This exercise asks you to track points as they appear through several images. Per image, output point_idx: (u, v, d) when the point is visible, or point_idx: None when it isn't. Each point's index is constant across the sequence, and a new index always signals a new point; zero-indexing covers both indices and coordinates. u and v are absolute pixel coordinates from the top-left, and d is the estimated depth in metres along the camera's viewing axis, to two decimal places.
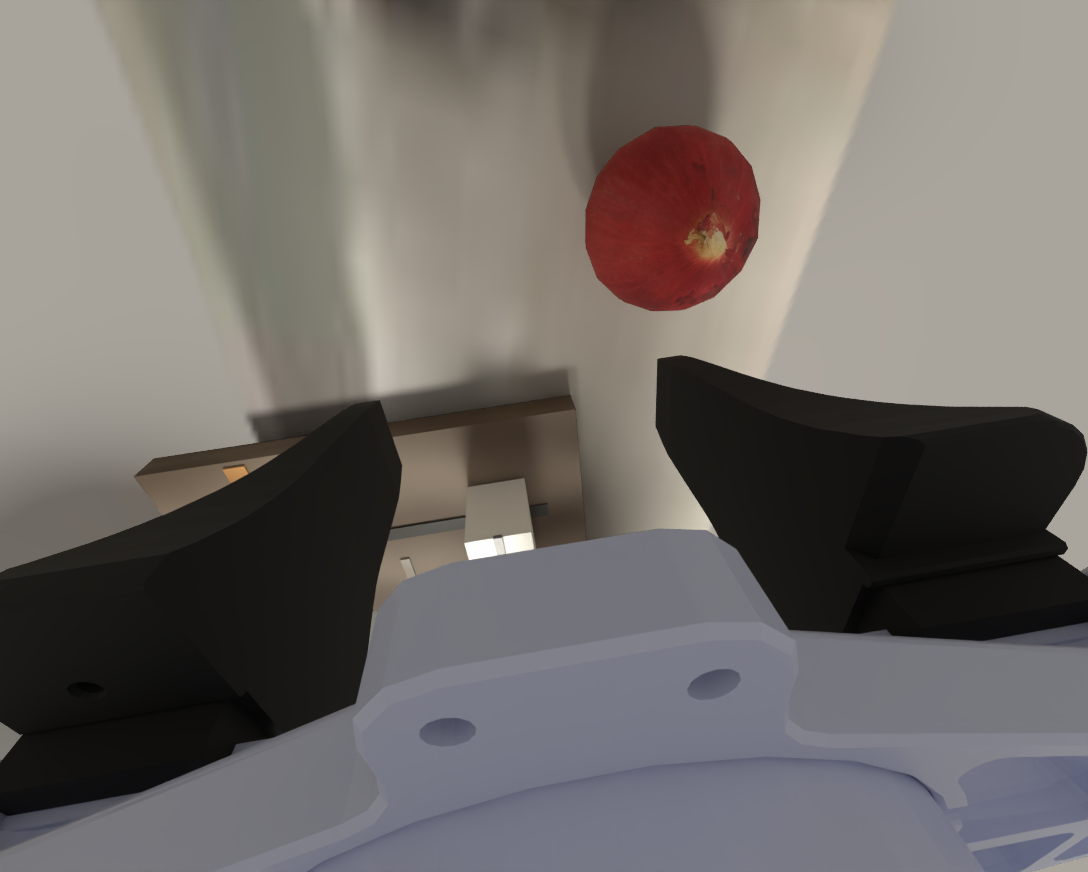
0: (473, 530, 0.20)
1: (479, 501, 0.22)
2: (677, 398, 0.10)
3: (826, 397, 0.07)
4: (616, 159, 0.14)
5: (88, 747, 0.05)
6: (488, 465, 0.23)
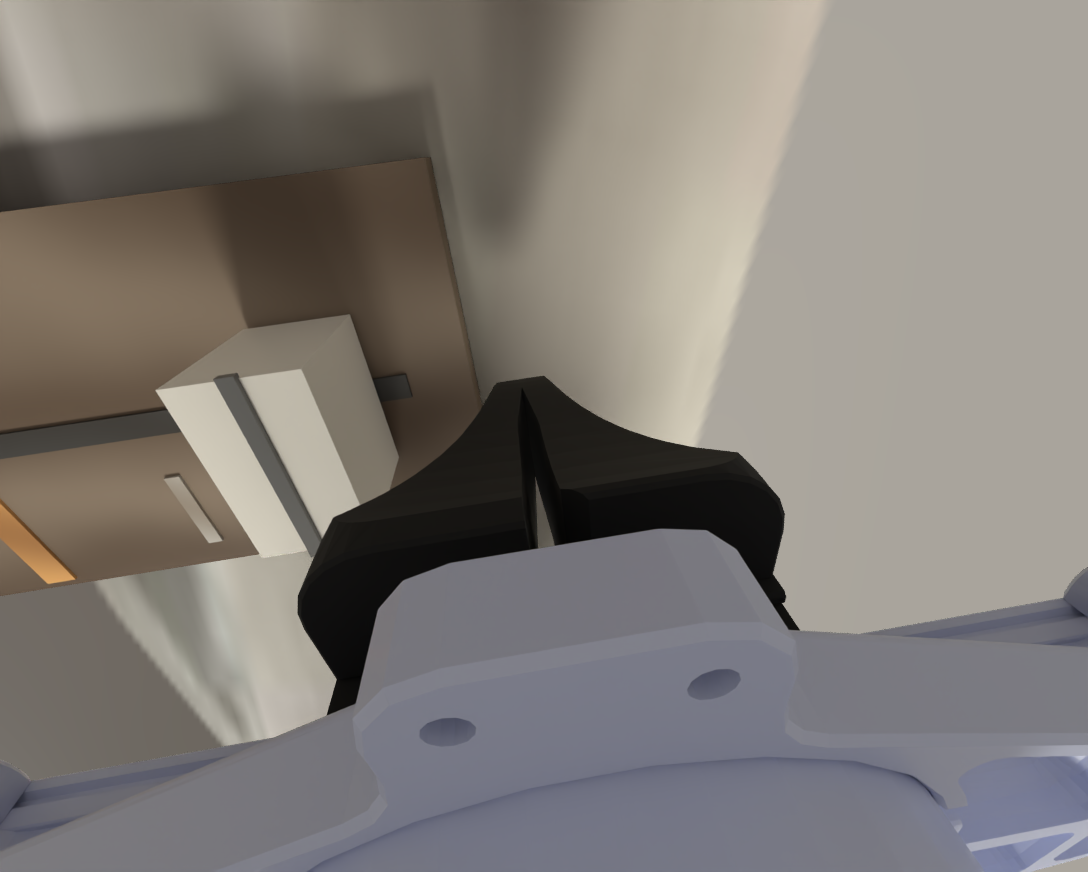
0: (193, 373, 0.10)
1: (246, 341, 0.12)
2: (528, 421, 0.10)
3: (616, 430, 0.07)
4: None
5: None
6: (277, 285, 0.12)
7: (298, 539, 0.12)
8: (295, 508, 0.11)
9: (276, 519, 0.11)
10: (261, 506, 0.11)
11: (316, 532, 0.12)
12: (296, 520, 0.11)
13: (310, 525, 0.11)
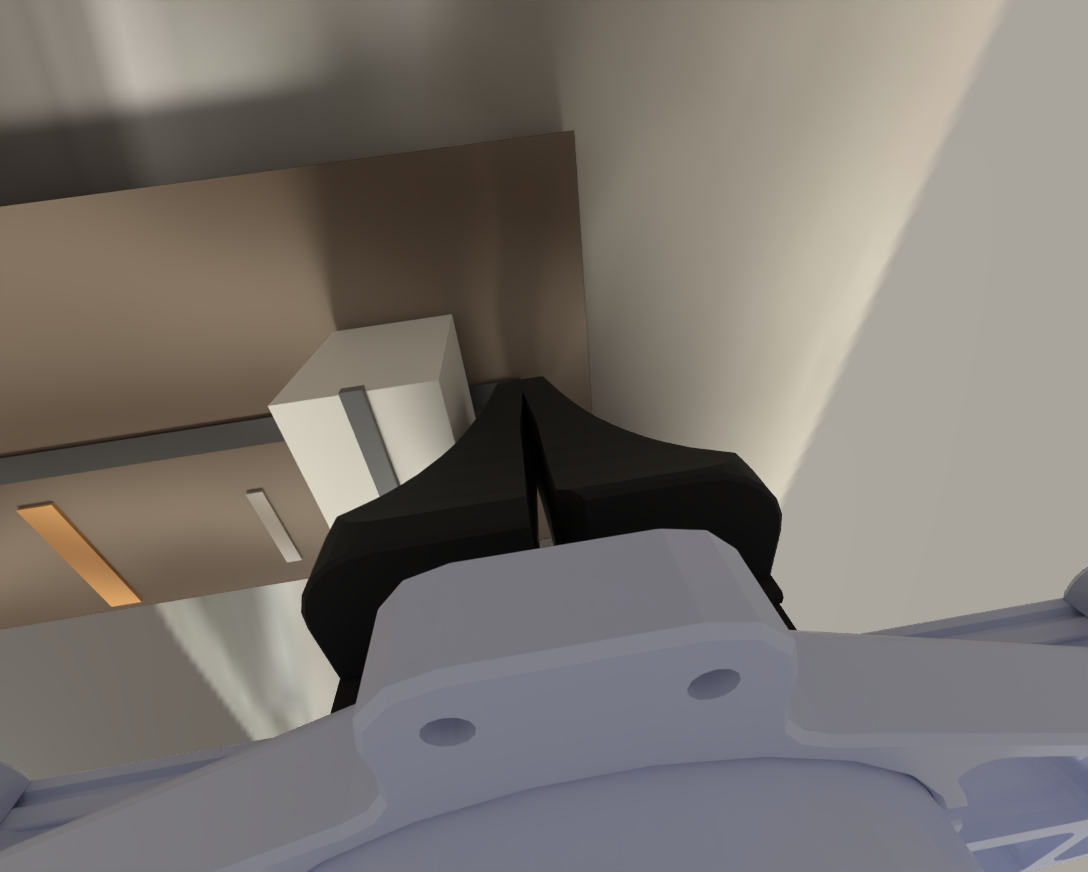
0: (304, 385, 0.08)
1: (345, 346, 0.10)
2: (527, 421, 0.10)
3: (614, 430, 0.07)
4: None
5: None
6: (392, 279, 0.11)
7: None
8: None
9: None
10: None
11: None
12: None
13: None
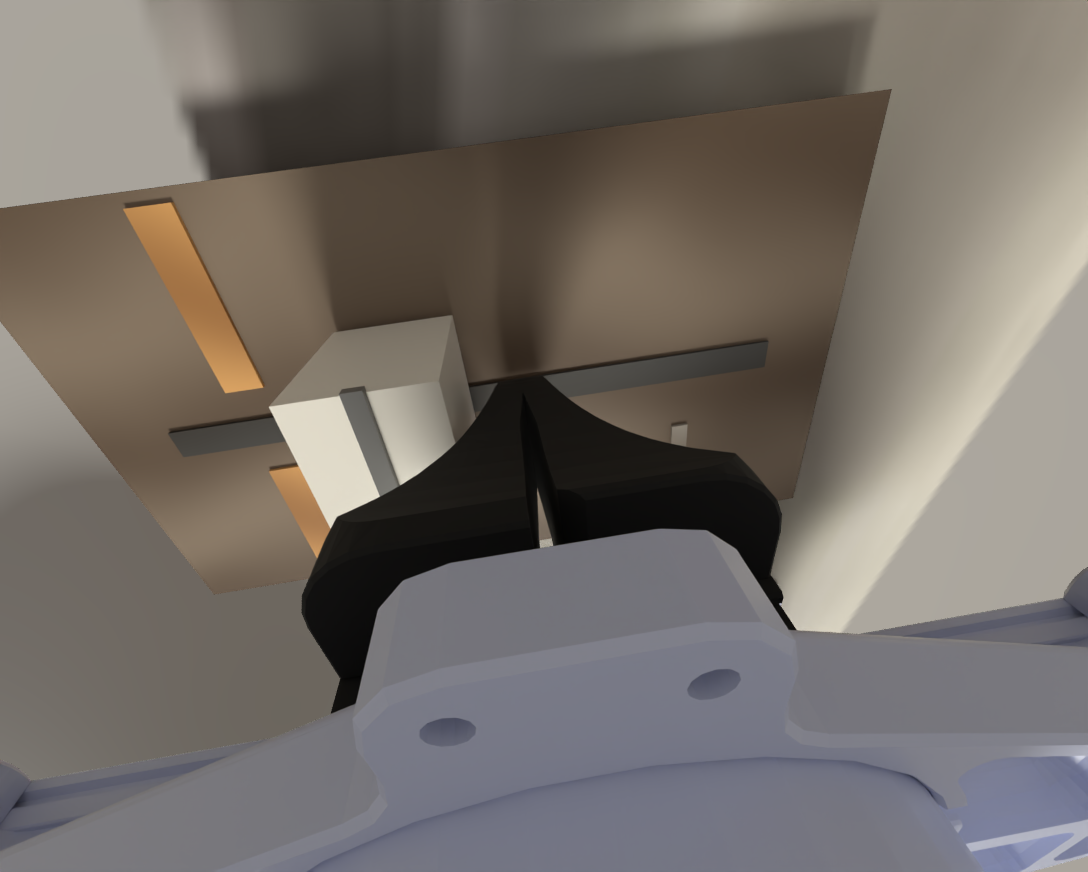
0: (304, 386, 0.08)
1: (346, 347, 0.10)
2: (527, 421, 0.10)
3: (614, 430, 0.07)
4: None
5: None
6: (681, 238, 0.11)
7: None
8: None
9: None
10: None
11: None
12: None
13: None
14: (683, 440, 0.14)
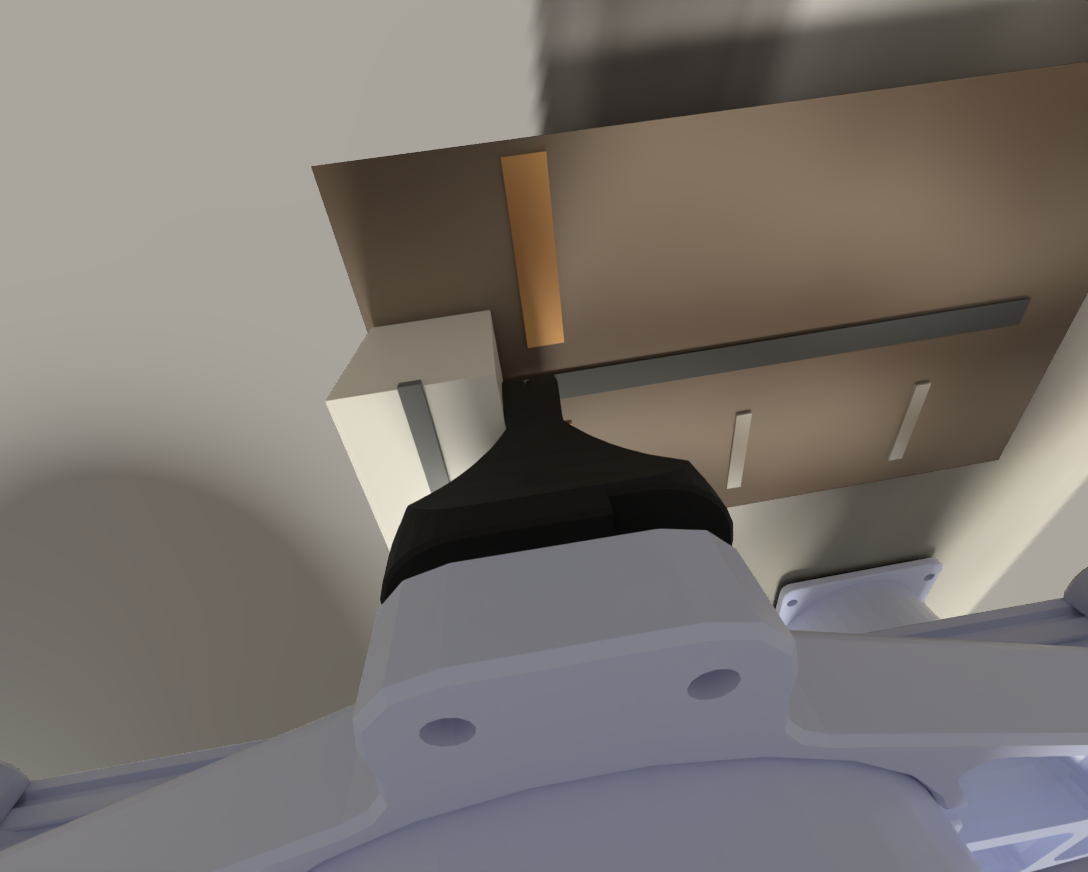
0: (357, 380, 0.08)
1: (389, 342, 0.10)
2: None
3: (579, 435, 0.07)
4: None
5: None
6: (986, 192, 0.12)
7: None
8: None
9: None
10: None
11: None
12: None
13: None
14: (922, 399, 0.15)
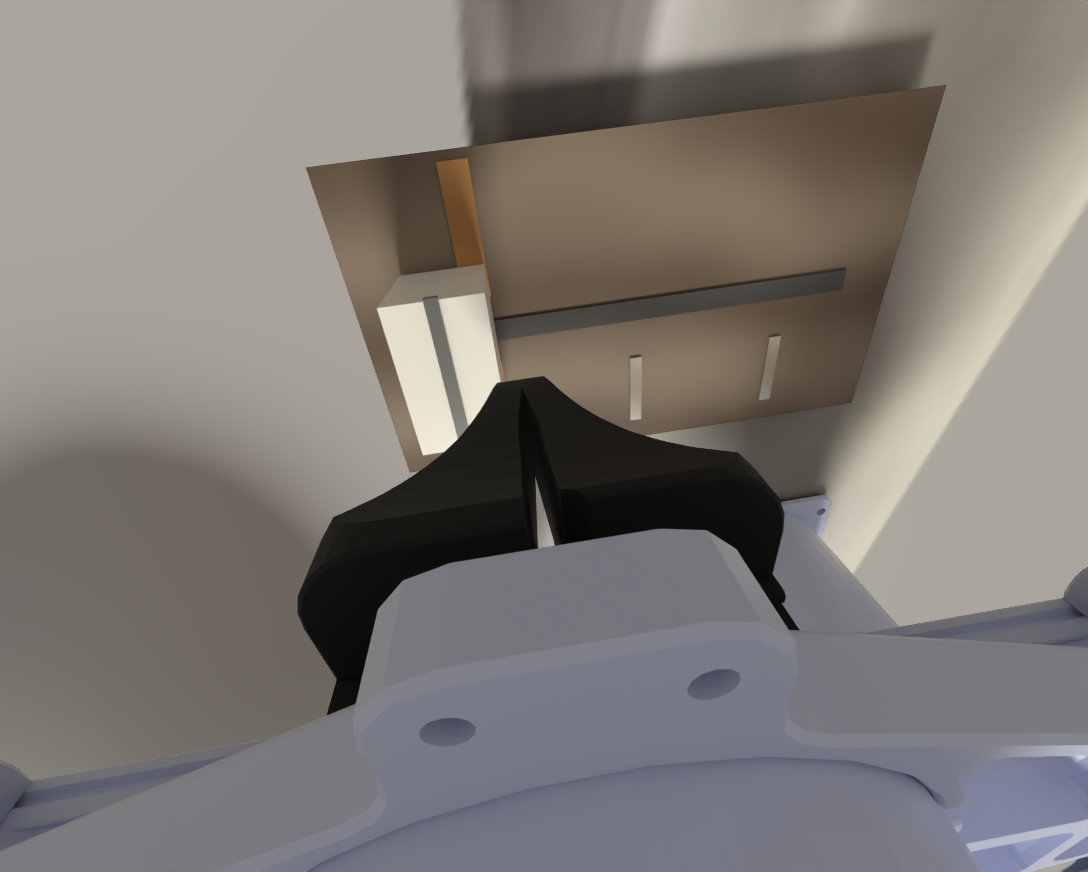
0: (395, 299, 0.13)
1: (413, 282, 0.15)
2: (528, 421, 0.10)
3: (615, 430, 0.07)
4: None
5: None
6: (794, 189, 0.16)
7: (454, 438, 0.15)
8: (458, 410, 0.14)
9: (440, 420, 0.14)
10: (431, 409, 0.14)
11: None
12: (456, 421, 0.14)
13: (466, 425, 0.14)
14: (776, 349, 0.19)
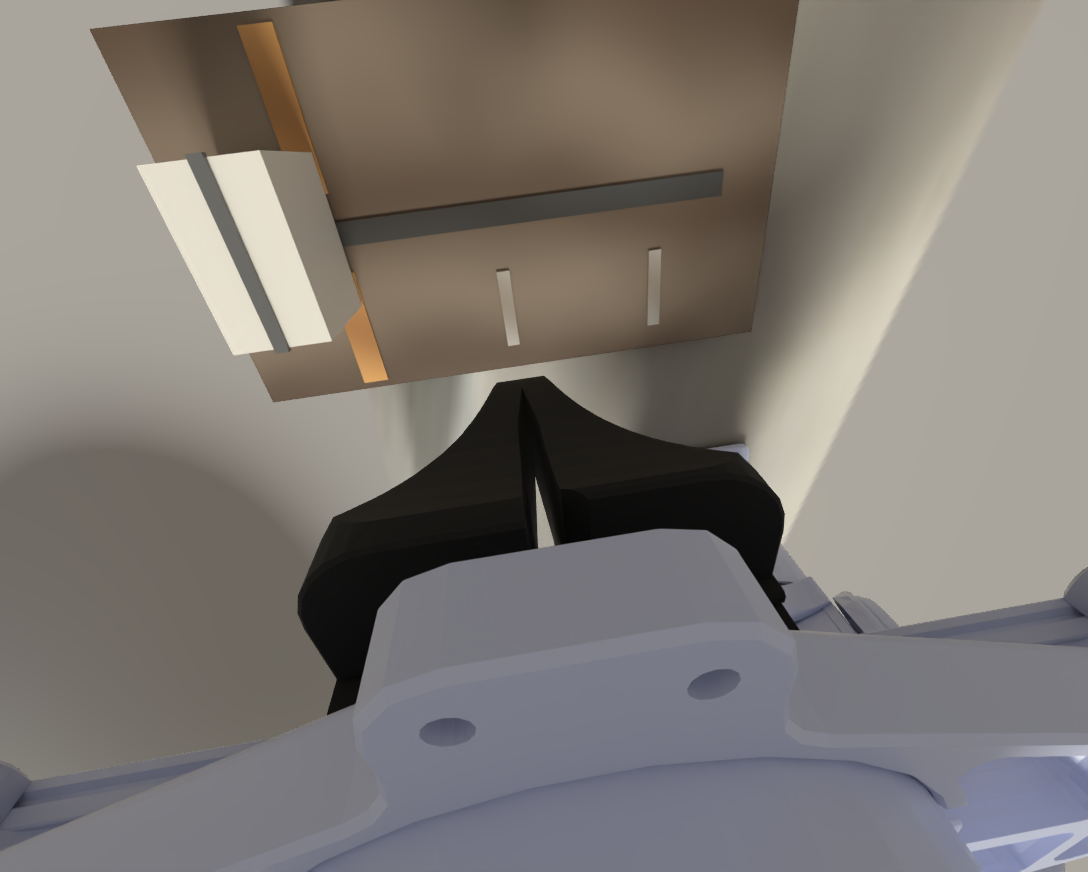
0: None
1: None
2: (528, 421, 0.10)
3: (615, 430, 0.07)
4: None
5: None
6: (651, 71, 0.15)
7: (264, 335, 0.13)
8: (260, 298, 0.13)
9: (244, 312, 0.13)
10: (230, 297, 0.13)
11: (279, 328, 0.13)
12: (261, 312, 0.13)
13: (273, 318, 0.13)
14: (658, 265, 0.18)
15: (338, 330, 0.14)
